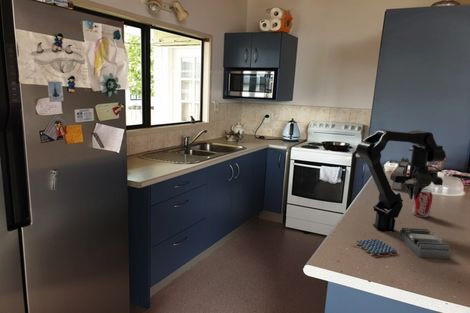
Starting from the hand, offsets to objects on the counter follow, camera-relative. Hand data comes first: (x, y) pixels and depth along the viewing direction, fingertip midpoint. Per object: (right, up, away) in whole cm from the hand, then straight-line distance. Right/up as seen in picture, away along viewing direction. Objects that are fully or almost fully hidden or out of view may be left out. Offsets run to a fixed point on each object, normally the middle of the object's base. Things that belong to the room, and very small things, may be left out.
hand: (413, 199), depth 144 cm
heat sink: (-5, -15, -17) cm, 24 cm away
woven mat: (-23, -16, -20) cm, 35 cm away
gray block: (-5, -12, -18) cm, 22 cm away
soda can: (+12, -10, +17) cm, 23 cm away
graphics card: (+28, 0, +71) cm, 76 cm away
